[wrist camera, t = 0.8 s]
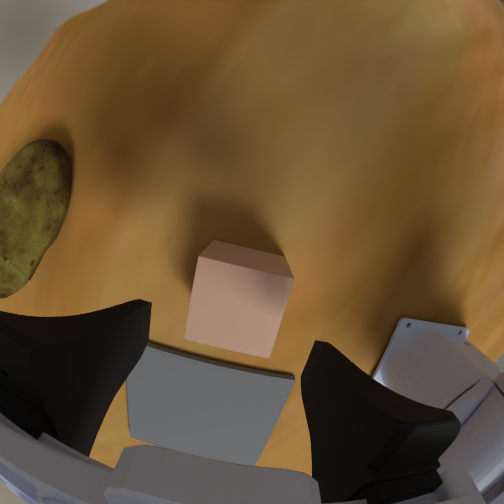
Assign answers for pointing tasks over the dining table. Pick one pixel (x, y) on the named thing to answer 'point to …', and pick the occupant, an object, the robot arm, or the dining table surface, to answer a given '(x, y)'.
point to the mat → (204, 405)
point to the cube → (238, 298)
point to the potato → (31, 210)
